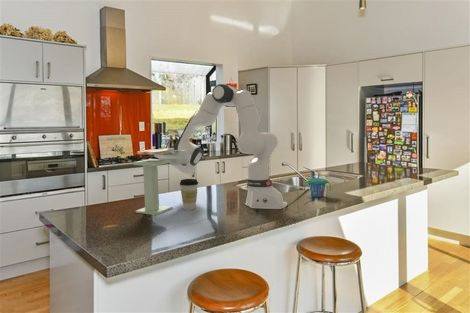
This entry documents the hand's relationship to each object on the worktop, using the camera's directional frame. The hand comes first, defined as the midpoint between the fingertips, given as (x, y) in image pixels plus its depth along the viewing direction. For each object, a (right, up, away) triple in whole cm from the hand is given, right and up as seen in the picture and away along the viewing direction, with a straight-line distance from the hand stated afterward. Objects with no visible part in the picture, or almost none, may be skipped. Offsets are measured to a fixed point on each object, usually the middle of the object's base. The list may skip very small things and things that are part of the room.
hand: (164, 149), depth 201 cm
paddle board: (-2, -2, -4) cm, 4 cm away
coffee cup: (+14, -31, -2) cm, 35 cm away
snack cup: (+86, -28, +21) cm, 93 cm away
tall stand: (-4, -32, -6) cm, 33 cm away
